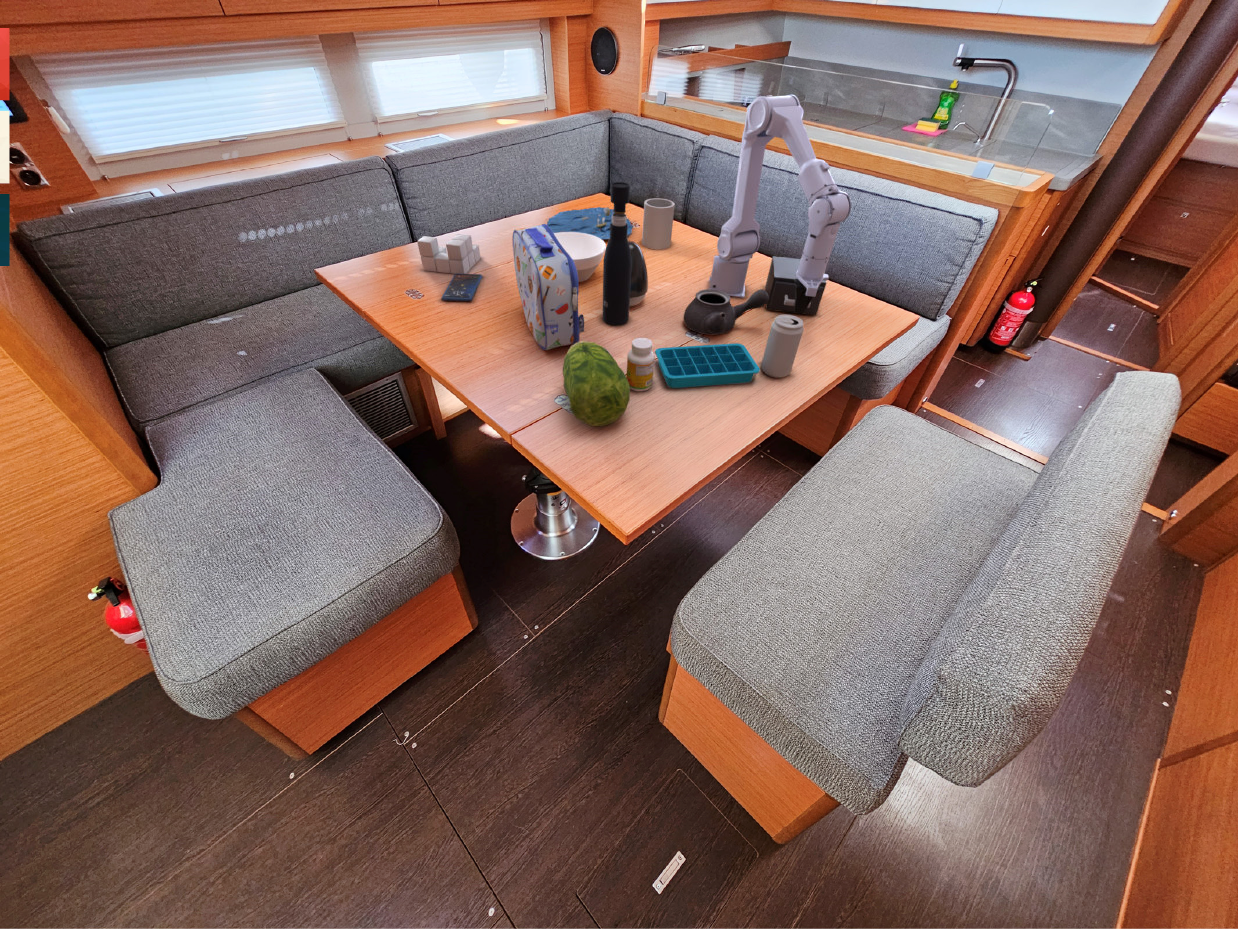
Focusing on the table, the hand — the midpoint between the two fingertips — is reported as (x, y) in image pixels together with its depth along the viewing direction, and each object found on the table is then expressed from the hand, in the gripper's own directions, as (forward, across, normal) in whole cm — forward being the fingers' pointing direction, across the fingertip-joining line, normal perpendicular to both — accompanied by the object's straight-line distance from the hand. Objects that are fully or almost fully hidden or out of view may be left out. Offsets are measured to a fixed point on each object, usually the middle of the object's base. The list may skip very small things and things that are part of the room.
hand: (798, 312), depth 121 cm
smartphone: (+5, +1, +85) cm, 85 cm away
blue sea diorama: (+5, +55, +63) cm, 84 cm away
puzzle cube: (+5, +15, +94) cm, 95 cm away
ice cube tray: (+5, -23, +20) cm, 31 cm away
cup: (+5, +47, +40) cm, 62 cm away
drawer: (+4, +13, 0) cm, 13 cm away
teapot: (+5, -3, +17) cm, 18 cm away
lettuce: (+5, -39, +41) cm, 57 cm away
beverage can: (+5, -19, +5) cm, 21 cm away
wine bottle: (+5, -5, +43) cm, 44 cm away
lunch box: (+5, -14, +57) cm, 59 cm away
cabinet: (+5, +17, 0) cm, 17 cm away
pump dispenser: (+5, +5, +42) cm, 43 cm away
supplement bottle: (+5, -31, +33) cm, 46 cm away
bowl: (+5, +17, +60) cm, 62 cm away
